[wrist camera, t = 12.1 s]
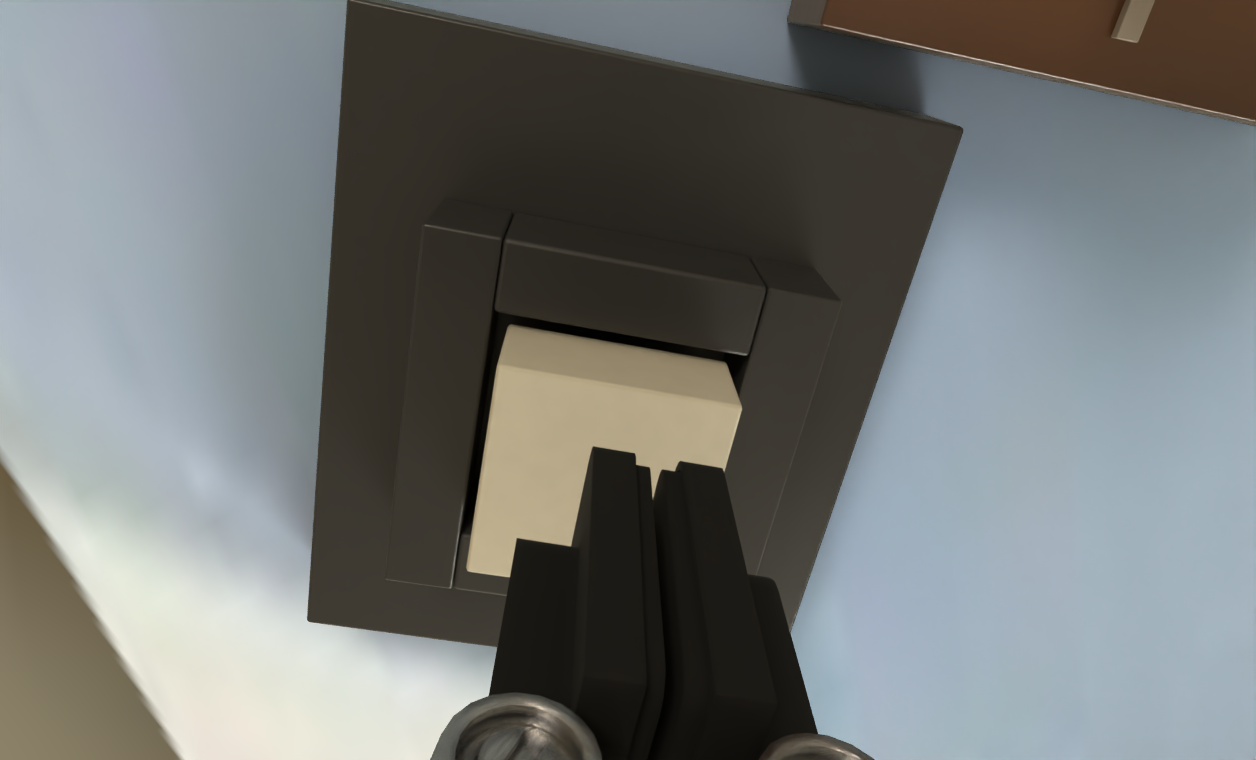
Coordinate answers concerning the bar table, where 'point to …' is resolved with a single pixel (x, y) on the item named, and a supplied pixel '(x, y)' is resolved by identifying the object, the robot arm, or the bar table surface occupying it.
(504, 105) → the square rocker plate
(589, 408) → the key
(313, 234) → the bar table surface
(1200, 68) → the control panel
